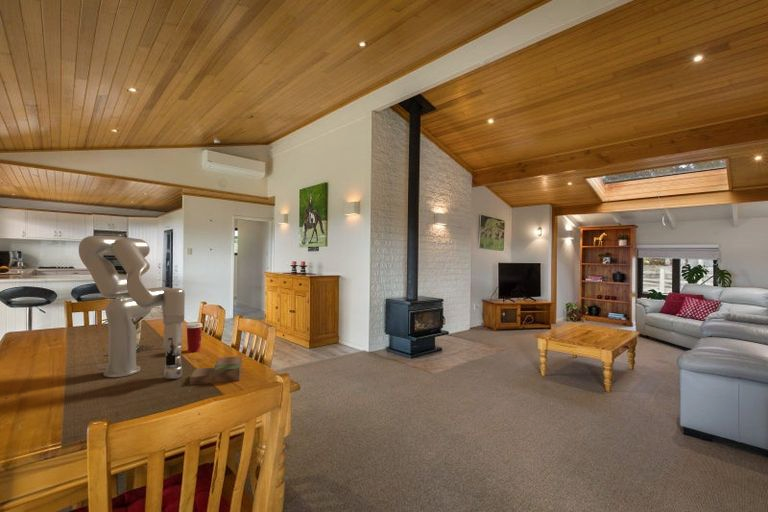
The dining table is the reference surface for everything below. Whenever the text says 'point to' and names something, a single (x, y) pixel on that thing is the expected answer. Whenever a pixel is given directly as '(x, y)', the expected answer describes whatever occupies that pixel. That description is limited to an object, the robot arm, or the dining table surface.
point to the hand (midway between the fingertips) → (173, 361)
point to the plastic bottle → (176, 369)
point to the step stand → (219, 371)
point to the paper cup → (194, 336)
